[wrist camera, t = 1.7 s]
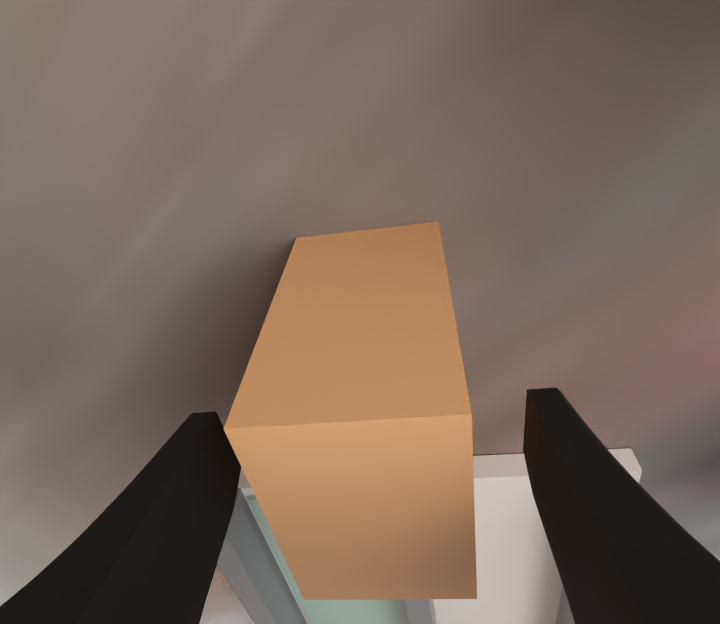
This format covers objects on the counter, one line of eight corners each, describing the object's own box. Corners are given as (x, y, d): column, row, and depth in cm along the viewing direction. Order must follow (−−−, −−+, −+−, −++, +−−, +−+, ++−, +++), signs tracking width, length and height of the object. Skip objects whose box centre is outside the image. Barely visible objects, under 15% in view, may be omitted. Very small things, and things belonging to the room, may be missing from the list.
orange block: (438, 221, 13) (471, 414, 7) (448, 381, 16) (477, 599, 11) (296, 237, 13) (223, 428, 8) (335, 388, 17) (304, 599, 11)
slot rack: (630, 448, 18) (669, 524, 15) (575, 660, 29) (592, 723, 26) (201, 469, 20) (174, 538, 17) (305, 657, 31) (297, 715, 29)
